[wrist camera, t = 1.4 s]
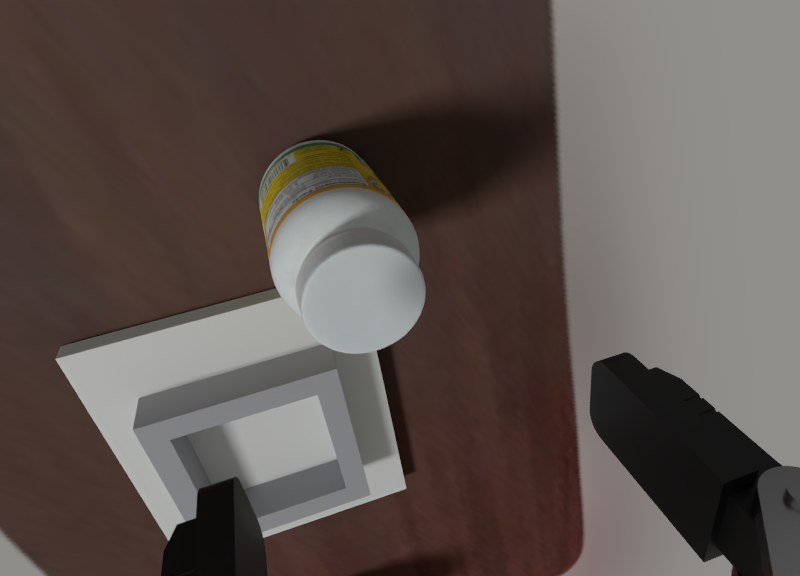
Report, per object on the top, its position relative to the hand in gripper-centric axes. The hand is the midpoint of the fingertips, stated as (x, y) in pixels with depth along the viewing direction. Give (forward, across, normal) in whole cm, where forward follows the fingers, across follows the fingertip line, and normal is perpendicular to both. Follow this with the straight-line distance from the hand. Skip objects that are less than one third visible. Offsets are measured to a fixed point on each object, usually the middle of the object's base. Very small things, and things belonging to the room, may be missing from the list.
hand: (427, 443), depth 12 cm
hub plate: (+16, +6, +12) cm, 21 cm away
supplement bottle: (+16, 0, 0) cm, 16 cm away
